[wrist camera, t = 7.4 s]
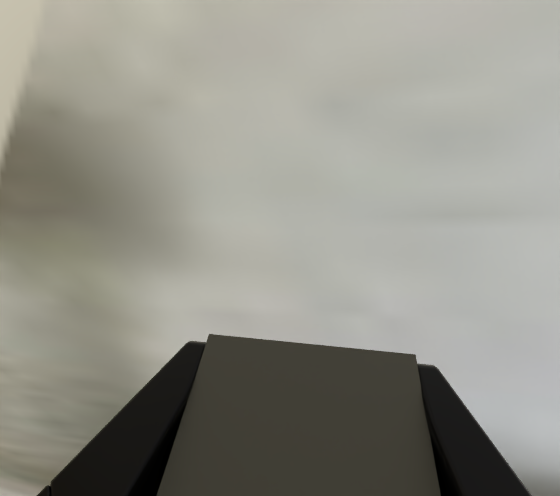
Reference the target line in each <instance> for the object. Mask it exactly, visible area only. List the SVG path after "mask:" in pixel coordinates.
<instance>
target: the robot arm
mask: <svg viewBox="0 0 560 496" xmlns="http://www.w3.org/2000/svg"><path fill="white" fill-rule="evenodd" d="M205 345H206V342H197V341H190V342H188V343H186V344H185V345H184V346H183V347H182V348H181V349H180V350H179V351H178V353H177V354H176V355H175V356H174V357H173V358H172V359H171V360H170V361H169V362H168V363H167V364H166V365H165V366H164V367H163V368H162V369H161V370H160V371H159V372H158V373H157V374H156V375H155V376H154V377H153V378H152V379H151V380H150V381H149V382H148V383H147V384H146V385H145V386H144V387H143V388H142V389H141V390H140V391H139V392H138V393H137V394H136V395H135V396H134V397H133V398H132V399H131V400H130V401H129V402H128V404H127V405H126V406H125V407H124V408H123V409H122V410H121V411H120V412H119V413H118V414H117V415H116V416H115V417H114V418H113V419H112V420H111V421H110V422H109V423H108V424H107V425H106V426H105V427H104V428H103V429H102V430H101V431H100V432H99V433H98V434H97V435H96V436H95V437H94V438H93V439H92V440H91V441H90V442H89V443H88V444H87V445H86V446H85V447H84V448H83V449H82V450H81V451H80V452H79V453H78V455H77V456H76V457H75V458H74V459H73V460H72V461H71V462H70V463H69V464H68V465H67V466H66V467H65V468H64V469H63V470H62V471H61V472H60V473H59V474H58V475H57V476H56V477H55V478H54V479H53V480H52V481H51V484H50V486H49V485H48V486H46V487H45V488H44V489H43V490H42V491H41V492H40V493H39V494H38V495H37V496H157V493H158V490H159V487H160V484H161V481H162V478H163V475H164V472H165V469H166V465H167V462H168V459H169V456H170V453H171V450H172V447H173V444H174V441H175V438H176V435H177V432H178V429H179V425H180V422H181V419H182V416H183V413H184V410H185V407H186V404H187V401H188V398H189V395H190V393H191V390H192V387H193V384H194V381H195V377H196V374H197V371H198V367H199V364H200V361H201V358H202V355H203V352H204V349H205ZM417 366H418V372H419V377H420V383H421V391H422V399H423V404H424V410H425V415H426V420H427V425H428V429H429V433H430V438H431V444H432V449H433V455H434V460H435V466H436V472H437V477H438V483H439V488H440V494H441V496H531V494H530V493H529V492H528V490H527V489H526V488H525V486H524V485H523V484H522V482H521V481H520V480H519V478H518V477H517V475H516V474H515V473H514V471H513V470H512V469H511V467H510V466H509V465H508V463H507V462H506V460H505V459H504V458H503V456H502V455H501V454H500V452H499V451H498V450H497V448H496V447H495V446H494V444H493V443H492V441H491V440H490V439H489V437H488V436H487V435H486V433H485V432H484V431H483V429H482V428H481V426H480V425H479V424H478V422H477V421H476V420H475V418H474V417H473V416H472V414H471V413H470V412H469V410H468V409H467V407H466V406H465V405H464V403H463V402H462V401H461V399H460V398H459V397H458V395H457V394H456V393H455V391H454V390H453V388H452V387H451V386H450V384H449V383H448V382H447V380H446V379H445V378H444V376H443V375H442V373H441V372H440V371H439V369H438V368H437V367H435V366H433V365H426V364H417Z"/></svg>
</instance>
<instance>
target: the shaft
mask: <svg viewBox="0 0 560 496" xmlns="http://www.w3.org/2000/svg"><path fill="white" fill-rule="evenodd" d="M157 496H441V494H440V488H439V483H438V477H437V472H436V466H435V460H434V455H433V449H432V444H431V438H430V433H429V429H428V425H427V420H426V415H425V410H424V404H423V399H422V391H421V383H420V377H419V372H418V366H417V361H416V355H414V354H404V353H394V352H384V351H374V350H364V349H354V348H344V347H334V346H324V345H313V344H303V343H293V342H283V341H273V340H263V339H253V338H243V337H233V336H223V335H213V334H209V336H208V339H207V342H206V345H205V349H204V352H203V355H202V358H201V361H200V364H199V367H198V371H197V374H196V377H195V381H194V384H193V387H192V390H191V393H190V395H189V398H188V401H187V404H186V407H185V410H184V413H183V416H182V419H181V422H180V425H179V429H178V432H177V435H176V438H175V441H174V444H173V447H172V450H171V453H170V456H169V459H168V462H167V465H166V469H165V472H164V475H163V478H162V481H161V484H160V487H159V490H158V493H157Z"/></svg>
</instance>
